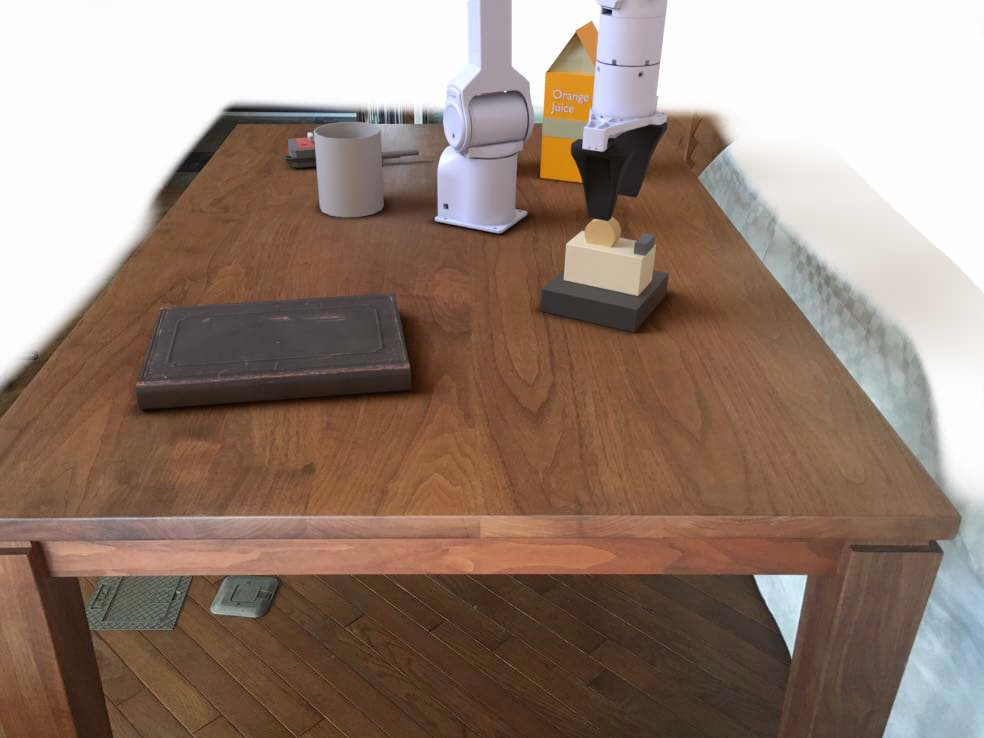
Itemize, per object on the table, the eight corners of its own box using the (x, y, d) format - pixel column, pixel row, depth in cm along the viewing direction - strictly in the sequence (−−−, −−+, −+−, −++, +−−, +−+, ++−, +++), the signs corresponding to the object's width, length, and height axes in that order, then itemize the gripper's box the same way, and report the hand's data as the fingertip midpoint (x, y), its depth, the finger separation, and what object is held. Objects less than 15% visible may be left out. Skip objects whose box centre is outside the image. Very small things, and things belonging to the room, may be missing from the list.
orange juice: (538, 177, 129) (546, 28, 119) (556, 160, 136) (565, 18, 126) (592, 184, 127) (604, 32, 116) (607, 166, 134) (620, 22, 123)
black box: (540, 311, 92) (541, 288, 91) (577, 276, 99) (579, 255, 98) (634, 332, 88) (637, 309, 86) (666, 295, 95) (669, 273, 94)
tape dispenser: (563, 280, 92) (567, 218, 89) (579, 266, 96) (583, 206, 92) (638, 296, 89) (645, 232, 86) (651, 281, 92) (659, 219, 89)
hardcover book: (164, 328, 89) (160, 307, 88) (395, 313, 92) (395, 292, 90) (139, 413, 76) (134, 389, 74) (411, 393, 78) (411, 370, 77)
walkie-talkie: (286, 174, 131) (420, 163, 135) (283, 143, 129) (419, 134, 133) (281, 157, 139) (408, 147, 143) (278, 128, 136) (407, 119, 140)
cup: (308, 212, 117) (301, 135, 112) (338, 193, 124) (333, 119, 119) (366, 220, 115) (362, 141, 109) (393, 200, 121) (391, 125, 116)
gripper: (644, 80, 74) (627, 237, 81) (695, 50, 85) (676, 191, 92) (565, 72, 77) (555, 224, 84) (623, 44, 88) (610, 181, 95)
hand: (613, 206), depth 88 cm, fingers open, 7 cm apart
